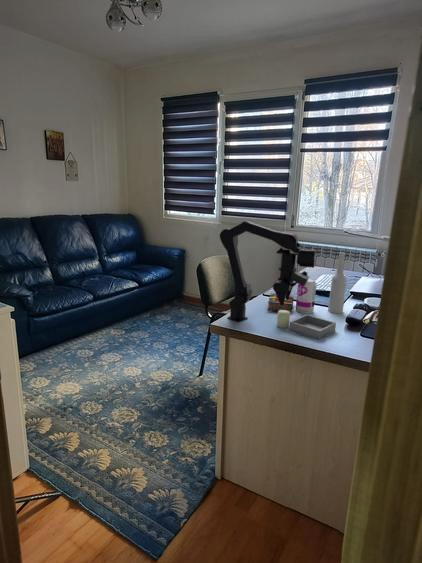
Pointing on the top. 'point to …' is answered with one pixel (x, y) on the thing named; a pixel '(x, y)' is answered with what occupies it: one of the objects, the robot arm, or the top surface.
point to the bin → (312, 326)
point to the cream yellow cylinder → (283, 318)
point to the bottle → (338, 288)
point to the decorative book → (275, 304)
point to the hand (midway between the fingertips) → (284, 302)
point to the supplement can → (306, 297)
